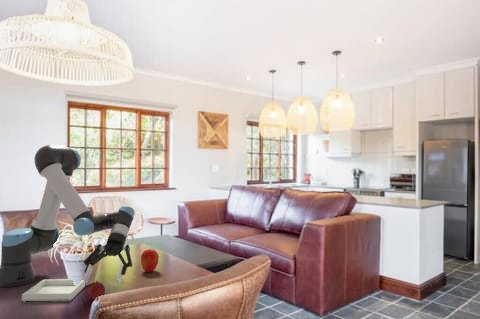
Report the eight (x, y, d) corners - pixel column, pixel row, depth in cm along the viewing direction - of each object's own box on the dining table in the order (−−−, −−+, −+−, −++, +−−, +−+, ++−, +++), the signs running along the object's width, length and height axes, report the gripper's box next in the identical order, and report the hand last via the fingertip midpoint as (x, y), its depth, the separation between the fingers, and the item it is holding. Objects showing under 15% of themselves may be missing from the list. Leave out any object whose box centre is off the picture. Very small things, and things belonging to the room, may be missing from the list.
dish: (21, 302, 129) (21, 294, 129) (43, 286, 147) (43, 279, 147) (70, 301, 131) (70, 293, 131) (85, 285, 149) (86, 278, 149)
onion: (106, 297, 135) (107, 277, 135) (101, 303, 129) (102, 282, 130) (92, 297, 135) (93, 277, 135) (86, 303, 129) (87, 282, 129)
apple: (153, 274, 166) (154, 250, 167) (136, 273, 168) (137, 249, 168) (161, 269, 175) (161, 246, 176) (145, 268, 177) (146, 245, 178)
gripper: (147, 241, 151) (134, 286, 136) (93, 240, 152) (74, 284, 137) (143, 232, 146) (129, 277, 131) (88, 231, 147) (68, 275, 132)
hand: (101, 281), depth 134 cm, fingers open, 13 cm apart
